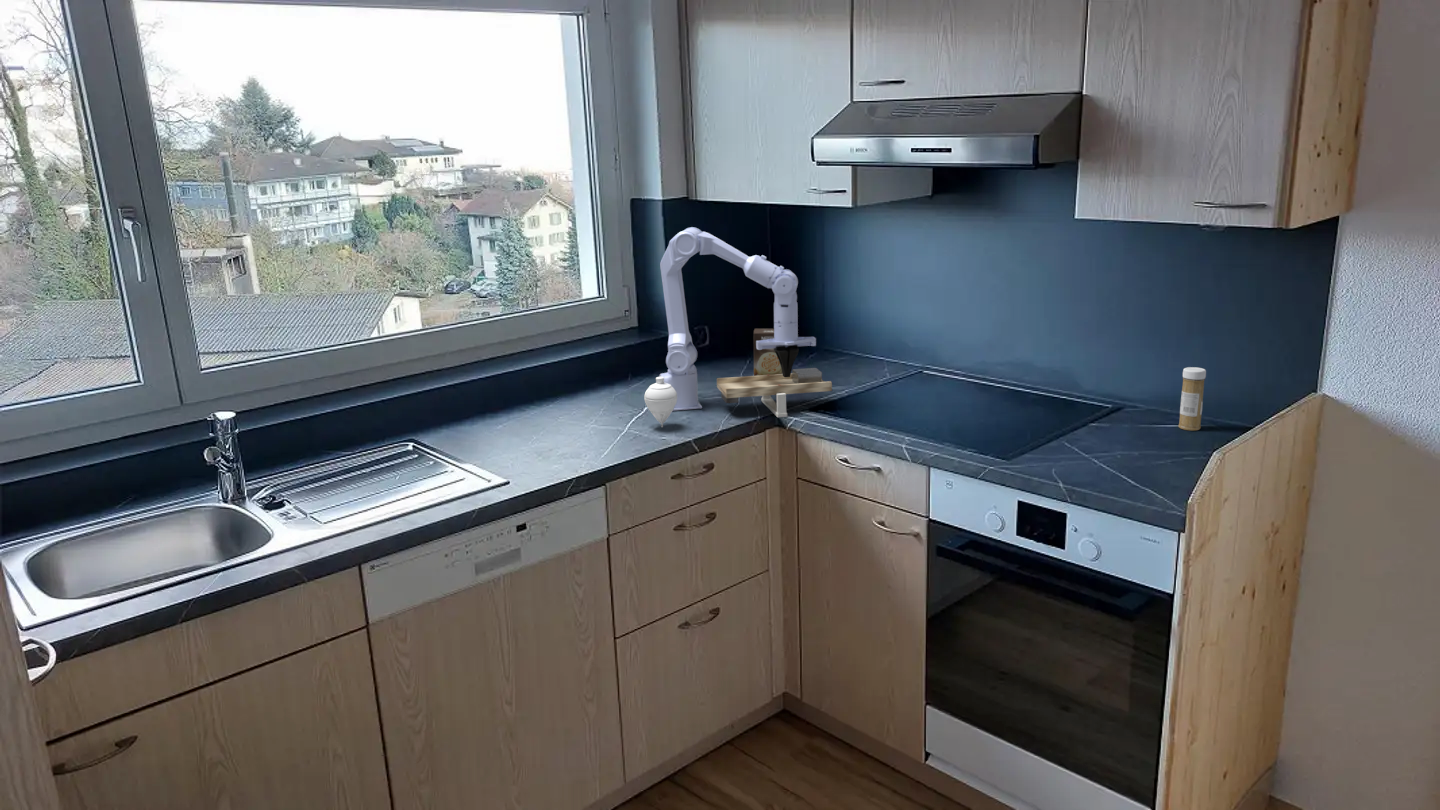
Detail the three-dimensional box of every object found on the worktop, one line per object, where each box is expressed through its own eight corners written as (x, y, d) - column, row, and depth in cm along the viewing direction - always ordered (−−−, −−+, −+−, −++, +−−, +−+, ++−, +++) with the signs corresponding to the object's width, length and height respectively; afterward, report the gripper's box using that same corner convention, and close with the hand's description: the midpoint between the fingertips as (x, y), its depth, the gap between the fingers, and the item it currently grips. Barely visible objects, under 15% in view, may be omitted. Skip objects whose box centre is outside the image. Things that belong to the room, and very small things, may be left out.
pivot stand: (777, 417, 241) (777, 395, 240) (761, 401, 256) (761, 379, 255) (787, 416, 242) (787, 394, 240) (770, 400, 257) (770, 379, 255)
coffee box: (753, 393, 264) (751, 332, 260) (754, 387, 270) (753, 328, 266) (788, 393, 263) (787, 332, 259) (789, 387, 270) (788, 327, 265)
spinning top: (684, 425, 237) (682, 375, 234) (666, 433, 231) (664, 382, 228) (657, 421, 241) (655, 372, 238) (639, 429, 235) (636, 379, 232)
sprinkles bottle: (1204, 428, 222) (1210, 369, 219) (1192, 432, 220) (1198, 372, 216) (1185, 424, 226) (1191, 365, 223) (1173, 427, 224) (1178, 368, 220)
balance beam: (727, 406, 240) (726, 389, 239) (716, 394, 252) (716, 377, 251) (832, 399, 245) (832, 382, 244) (817, 387, 257) (817, 370, 256)
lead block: (798, 385, 246) (798, 373, 245) (792, 381, 251) (792, 369, 250) (821, 384, 247) (821, 372, 247) (815, 379, 252) (815, 367, 251)
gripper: (760, 326, 239) (761, 382, 243) (819, 322, 242) (819, 377, 245) (753, 321, 246) (754, 375, 249) (811, 317, 248) (811, 371, 252)
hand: (786, 376), depth 248 cm, fingers closed
